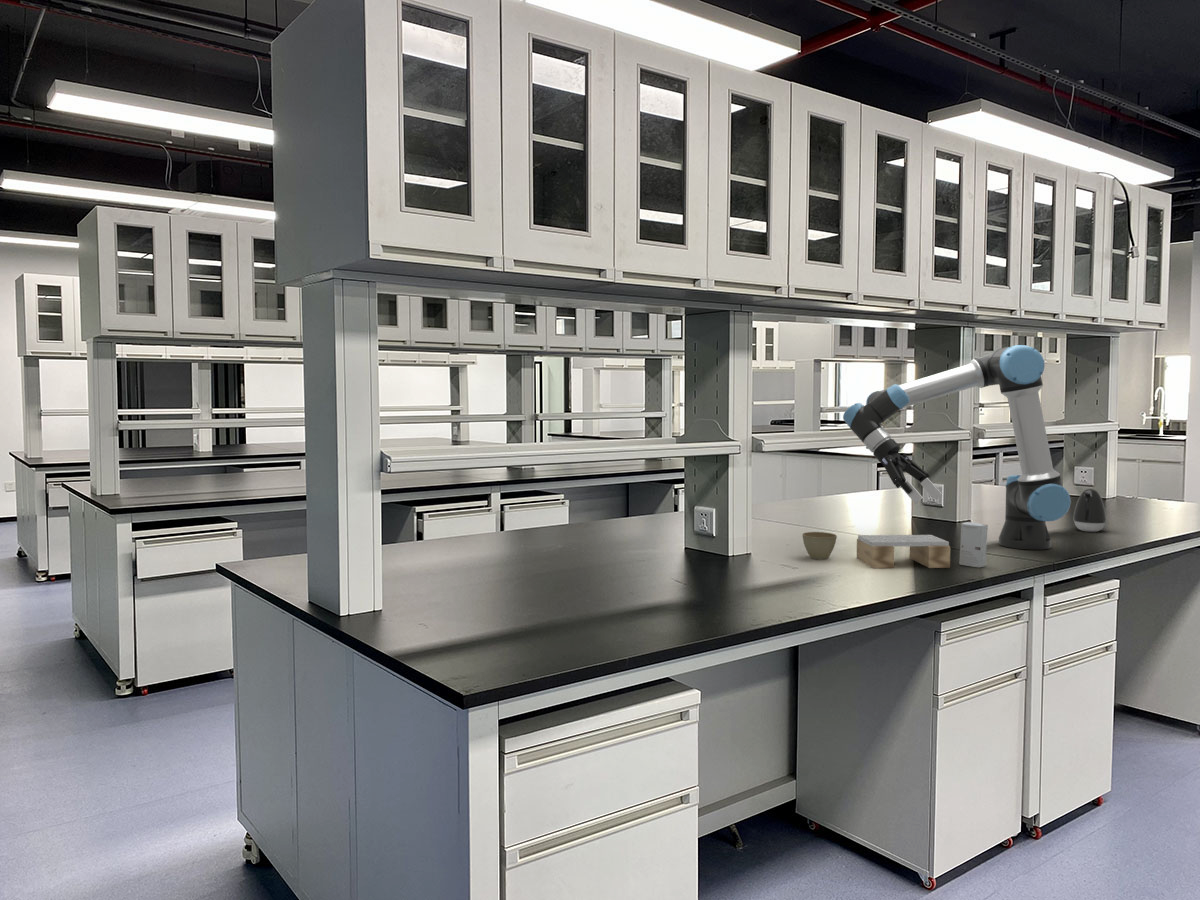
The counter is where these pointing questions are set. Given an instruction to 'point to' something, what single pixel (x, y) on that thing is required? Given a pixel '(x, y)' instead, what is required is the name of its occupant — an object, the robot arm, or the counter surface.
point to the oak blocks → (920, 554)
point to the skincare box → (973, 544)
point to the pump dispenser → (1089, 512)
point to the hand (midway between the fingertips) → (929, 498)
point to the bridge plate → (902, 540)
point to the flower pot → (819, 544)
